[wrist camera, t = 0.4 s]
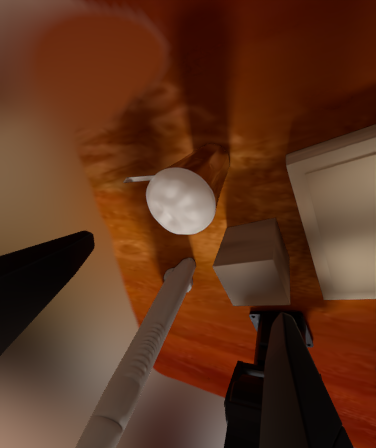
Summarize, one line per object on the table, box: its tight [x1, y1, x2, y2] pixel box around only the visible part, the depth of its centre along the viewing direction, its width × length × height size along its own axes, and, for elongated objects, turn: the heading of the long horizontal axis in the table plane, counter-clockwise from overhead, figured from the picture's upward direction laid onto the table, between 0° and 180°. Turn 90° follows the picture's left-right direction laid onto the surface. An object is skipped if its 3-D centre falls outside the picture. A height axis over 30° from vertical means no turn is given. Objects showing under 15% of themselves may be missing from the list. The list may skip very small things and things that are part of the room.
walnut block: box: [213, 218, 290, 306], centre depth 21 cm, size 5×5×6 cm
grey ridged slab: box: [76, 258, 196, 448], centre depth 22 cm, size 11×4×22 cm, turn 157°
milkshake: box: [124, 143, 230, 235], centre depth 16 cm, size 5×5×10 cm
